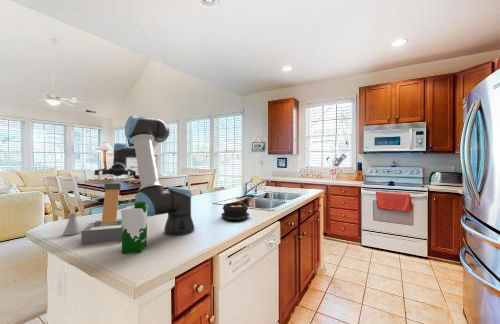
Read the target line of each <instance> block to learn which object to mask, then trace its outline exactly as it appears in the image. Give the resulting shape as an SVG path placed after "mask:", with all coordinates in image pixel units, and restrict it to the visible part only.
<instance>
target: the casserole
mask: <svg viewBox="0 0 500 324" xmlns="http://www.w3.org/2000/svg"><path fill="white" fill-rule="evenodd" d="M248 209H249V207H248V205H247V203H244V202H227V203H224V205H223V207H222V210H223V212H222V213H221V214H220V215H221V217H222V218H225V219H226V220H236V221H237V220H245V219H246V218H247V217H249V216H250V213H249V212H247V211H248Z"/></svg>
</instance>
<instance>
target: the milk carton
mask: <svg viewBox="0 0 500 324" xmlns="http://www.w3.org/2000/svg"><path fill="white" fill-rule="evenodd" d="M147 209H148V206H146V205H145V202H143V201H141V202H135V201H134V205H128V206H126V207H124V208H121V209H120V214H121V219H122V241H121V254H123V255H125V254H141V253H142V252H143V251H144V250H145V249H146V247H147V242H148V241H147V238H148V236H147V235H148V234H147V233H148V217H147Z"/></svg>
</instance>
